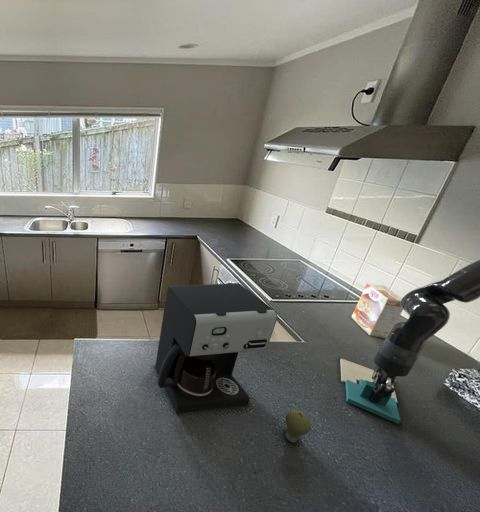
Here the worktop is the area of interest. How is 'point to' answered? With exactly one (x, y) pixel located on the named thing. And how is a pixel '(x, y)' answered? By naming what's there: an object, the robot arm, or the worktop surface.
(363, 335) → the worktop surface
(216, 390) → the coffee maker
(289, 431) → the light bulb
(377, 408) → the teal tile
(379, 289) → the coffeecake box
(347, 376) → the beige tile
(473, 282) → the robot arm
